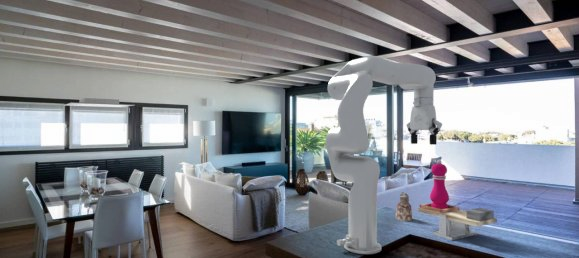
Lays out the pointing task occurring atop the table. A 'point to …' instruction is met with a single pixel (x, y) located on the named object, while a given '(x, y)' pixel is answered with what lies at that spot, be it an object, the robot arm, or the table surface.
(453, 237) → the fulcrum
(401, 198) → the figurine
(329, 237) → the table surface
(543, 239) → the table surface
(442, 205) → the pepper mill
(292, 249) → the table surface
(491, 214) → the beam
